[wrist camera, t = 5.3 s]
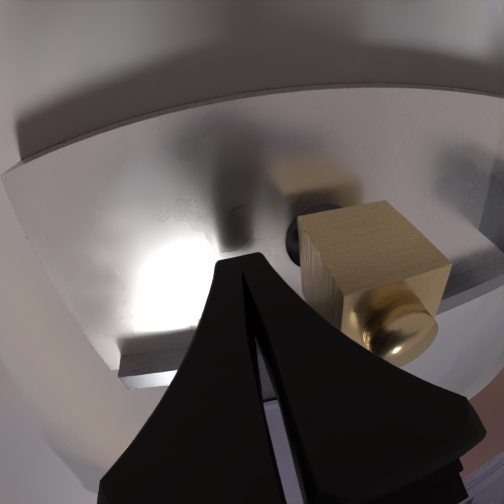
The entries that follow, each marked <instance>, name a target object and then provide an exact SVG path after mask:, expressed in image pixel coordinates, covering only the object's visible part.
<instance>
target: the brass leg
mask: <svg viewBox="0 0 504 504" xmlns="http://www.w3.org/2000/svg"><path fill="white" fill-rule="evenodd" d="M297 222H298V236H299V251H300V268H301V287H302V294H303V296H304V298H305V301H306V303H307V304H308V305H310V306H311V307H312V308H313V309H314V310H315V311H316V312H318V313H319V314H320V315H321V316H322V317H323V318H325V319H326V320H327V321H328V322H329V323H331V324H332V325H333V326H335V327H336V328H337V329H339V330H340V331H341V332H343V333H344V334H345V335H347V336H348V337H349V338H351V339H352V340H354V341H355V342H357V343H358V344H360V345H361V346H363V347H364V348H366V349H367V350H369V351H371V352H372V353H374V354H376V355H378V356H379V357H381V358H383V359H384V360H386V361H388V362H390V363H391V364H393V365H395V366H397V367H398V368H399V367H401V366H404V365H406V364H408V363H409V362H411V361H413V360H414V359H416V358H417V357H418V356H420V355H421V354H422V353H423V352H424V351H425V350H426V349H427V348H428V347H429V346H430V345H431V343H432V342H433V341H434V339H435V337H436V335H437V332H438V324H437V323H436V321H435V320H434V318H435V315H436V312H437V310H438V307H439V304H440V301H441V298H442V295H443V292H444V289H445V286H446V283H447V280H448V277H449V274H450V270H451V267H452V263H451V262H450V261H449V260H448V259H447V258H446V257H445V256H444V255H443V254H442V253H441V252H440V251H439V250H438V249H437V248H436V247H435V246H434V245H433V244H432V243H431V242H430V241H429V240H428V239H427V238H426V237H425V236H424V235H423V234H422V233H421V232H420V231H419V230H418V229H417V228H416V227H415V226H414V225H413V224H411V223H410V222H409V221H408V220H407V219H406V218H405V217H404V216H403V215H402V214H401V213H399V212H398V211H397V210H396V209H395V208H394V207H393V206H392V205H390V204H389V203H388V202H387V201H386V200H383V201H377V202H372V203H366V204H361V205H355V206H350V207H344V208H339V209H334V210H328V211H323V212H318V213H313V214H308V215H303V216H297Z"/></svg>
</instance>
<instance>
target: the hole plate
mask: <svg viewBox="0 0 504 504" xmlns="http://www.w3.org/2000/svg"><path fill="white" fill-rule="evenodd" d="M1 179H2V181H3V184H4V187H5V189H6V192H7V194H8V197H9V199H10V201H11V204H12V206H13V208H14V211H15V213H16V215H17V217H18V220H19V222H20V224H21V226H22V228H23V230H24V232H25V234H26V236H27V238H28V240H29V242H30V244H31V246H32V248H33V250H34V252H35V254H36V256H37V258H38V260H39V262H40V263H41V265H42V267H43V269H44V271H45V272H46V274H47V276H48V278H49V279H50V281H51V283H52V285H53V286H54V288H55V290H56V291H57V293H58V295H59V296H60V298H61V299H62V301H63V303H64V304H65V306H66V307H67V309H68V310H69V312H70V313H71V315H72V317H73V318H74V320H75V321H76V322H77V324H78V325H79V327H80V328H81V330H82V331H83V333H84V334H85V335H86V337H87V338H88V340H89V341H90V342H91V344H92V345H93V347H94V348H95V349H96V351H97V352H98V353H99V355H100V356H101V357H102V359H103V360H104V361H105V362H106V364H107V365H108V366H109V368H110V369H111V370H119V372H118V378H119V380H120V381H121V382H122V383H123V384H124V386H125V387H126V388H127V389H137V388H146V387H155V386H163V385H170V383H171V381H172V380H173V378H174V376H175V374H176V372H177V370H178V368H179V366H180V364H181V362H182V360H183V358H184V356H185V354H186V352H187V350H188V348H189V345H190V343H191V341H192V338H193V336H194V333H195V331H196V328H197V325H198V323H199V320H200V318H201V315H202V312H203V309H204V306H205V303H206V300H207V296H208V293H209V290H210V286H211V282H212V277H213V272H214V264H215V263H216V262H217V260H222V259H226V258H231V257H236V256H241V255H246V254H251V253H255V252H260V253H262V254H263V255H264V256H265V258H266V259H267V260H268V262H269V263H270V264H271V266H272V267H273V268H274V269H275V271H276V272H277V273H278V274H279V275H280V276H281V277H282V279H283V280H284V281H285V282H286V283H287V284H288V285H289V286H290V287H291V288H292V289H293V290H294V291H295V292H296V293H297V294H298V295H299V296H300V297H301V298H302V299H303V300H304V301H305V298H304V296H303V294H302V287H301V268H300V251H299V236H298V222H297V216H303V215H308V214H313V213H318V212H323V211H328V210H334V209H339V208H344V207H350V206H355V205H361V204H366V203H372V202H377V201H383V200H386V201H387V202H388V203H389V204H390V205H392V206H393V207H394V208H395V209H396V210H397V211H398V212H399V213H401V214H402V215H403V216H404V217H405V218H406V219H407V220H408V221H409V222H410V223H411V224H413V225H414V226H415V227H416V228H417V229H418V230H419V231H420V232H421V233H422V234H423V235H424V236H425V237H426V238H427V239H428V240H429V241H430V242H431V243H432V244H433V245H434V246H435V247H436V248H437V249H438V250H439V251H440V252H441V253H442V254H443V255H444V256H445V257H446V258H447V259H448V260H449V261H450V262H451V263H452V267H451V270H450V274H449V277H448V280H447V283H446V286H445V289H444V292H443V295H442V298H441V301H440V304H439V307H438V310H437V312H436V315H438V314H440V313H443V312H445V311H448V310H450V309H452V308H455V307H457V306H459V305H462V304H464V303H466V302H468V301H471V300H473V299H475V298H477V297H480V296H482V295H484V294H486V293H488V292H490V291H492V290H494V289H496V288H498V287H501V286H503V285H504V95H500V94H494V93H489V92H483V91H476V90H469V89H461V88H453V87H444V86H432V85H419V84H398V83H345V84H323V85H309V86H297V87H287V88H278V89H270V90H262V91H255V92H248V93H241V94H235V95H229V96H224V97H218V98H213V99H208V100H203V101H198V102H194V103H189V104H185V105H180V106H176V107H172V108H168V109H164V110H160V111H156V112H152V113H149V114H145V115H142V116H138V117H135V118H131V119H128V120H125V121H122V122H118V123H115V124H112V125H109V126H106V127H103V128H100V129H97V130H94V131H92V132H89V133H86V134H83V135H81V136H78V137H75V138H73V139H70V140H68V141H65V142H62V143H60V144H58V145H55V146H53V147H50V148H48V149H46V150H43V151H41V152H39V153H37V154H34V155H32V156H30V157H28V158H26V159H23V160H21V161H20V162H18V163H17V164H16V165H14V166H13V167H11V168H10V169H9V170H7V171H6V172H5V173H3V174H2V175H1ZM305 302H306V301H305ZM255 340H256V337H255ZM256 348H257V356H258V365H259V369H261V368H266V366H265V363H264V360H263V357H262V355H261V352H260V349H259V346H258V343H257V340H256Z"/></svg>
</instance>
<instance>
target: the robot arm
mask: <svg viewBox="0 0 504 504" xmlns="http://www.w3.org/2000/svg"><path fill="white" fill-rule="evenodd" d="M255 337H256V340H257V343H258V346H259V349H260V352H261V355H262V357H263V360H264V363H265V366H266V369H267V372H268V375H269V377H270V380H271V383H272V386H273V389H274V392H275V394H276V398H277V400H273V401H269V402H264V403H263V397H262V389H261V381H260V373H259V365H258V356H257V348H256V340H255ZM486 433H487V431H486V430H485V428H484V426H483V424H482V422H481V420H480V418H479V416H478V414H477V412H476V411H475V409H474V408H473V407H472V405H471V404H470V403H469V401H468V400H467V398H466V397H464V396H462V395H459V394H456V393H454V392H451V391H449V390H446V389H444V388H441V387H438V386H436V385H434V384H431V383H429V382H427V381H424V380H422V379H420V378H418V377H416V376H414V375H412V374H410V373H408V372H406V371H404V370H402V369H400V368H398V367H397V366H395V365H393V364H391V363H390V362H388V361H386V360H384V359H383V358H381V357H379V356H378V355H376V354H374V353H372V352H371V351H369V350H367V349H366V348H364V347H363V346H361V345H360V344H358V343H357V342H355V341H354V340H352V339H351V338H349V337H348V336H347V335H345V334H344V333H343V332H341V331H340V330H339V329H337V328H336V327H335V326H333V325H332V324H331V323H329V322H328V321H327V320H326V319H325V318H323V317H322V316H321V315H320V314H319V313H318V312H316V311H315V310H314V309H313V308H312V307H311V306H310V305H308V304H307V303H306V302H305V301H304V300H303V299H302V298H301V297H300V296H299V295H298V294H297V293H296V292H295V291H294V290H293V289H292V288H291V287H290V286H289V285H288V284H287V283H286V282H285V281H284V280H283V279H282V277H281V276H280V275H279V274H278V273H277V272H276V271H275V269H274V268H273V267H272V266H271V264H270V263H269V262H268V260H267V259H266V258H265V256H264V255H263V254H262V253H260V252H255V253H251V254H246V255H241V256H236V257H231V258H226V259H222V260H217V262H216V263H215V264H214V272H213V277H212V282H211V286H210V290H209V293H208V296H207V300H206V303H205V306H204V309H203V312H202V315H201V318H200V320H199V323H198V325H197V328H196V331H195V333H194V336H193V338H192V341H191V343H190V345H189V348H188V350H187V352H186V354H185V356H184V358H183V360H182V362H181V364H180V366H179V368H178V370H177V372H176V374H175V376H174V378H173V380H172V381H171V383H170V385H169V387H168V388H167V390H166V392H165V394H164V395H163V397H162V399H161V400H160V402H159V404H158V405H157V407H156V408H155V410H154V411H153V413H152V414H151V416H150V417H149V419H148V420H147V422H146V423H145V424H144V426H143V427H142V429H141V430H140V432H139V433H138V435H137V436H136V437H135V439H134V440H133V441H132V443H131V444H130V445H129V447H128V448H127V449H126V450H125V451H124V453H123V454H122V455H121V456H120V457H119V459H118V460H117V461H116V462H115V463H114V465H113V466H112V467H111V468H110V469H109V471H108V472H107V473H106V474H105V475H104V476H103V478H102V479H101V480H100V484H99V492H98V498H97V504H504V451H503V452H501V453H500V454H499V455H498V456H496V457H495V458H493V459H492V460H491V461H489V462H488V463H487V464H485V465H484V466H482V467H481V468H479V469H478V470H477V471H475V472H474V473H472V474H470V475H469V476H467V477H466V478H464V479H463V480H462V479H461V477H460V475H459V472H461V471H463V466H462V464H461V462H460V459H459V458H460V457H461V456H462V455H464V454H465V453H467V451H469V450H470V449H472V448H473V447H474V446H476V445H477V444H478V443H479V442H481V441H482V440H483V439H484V438H485V436H486Z"/></svg>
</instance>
